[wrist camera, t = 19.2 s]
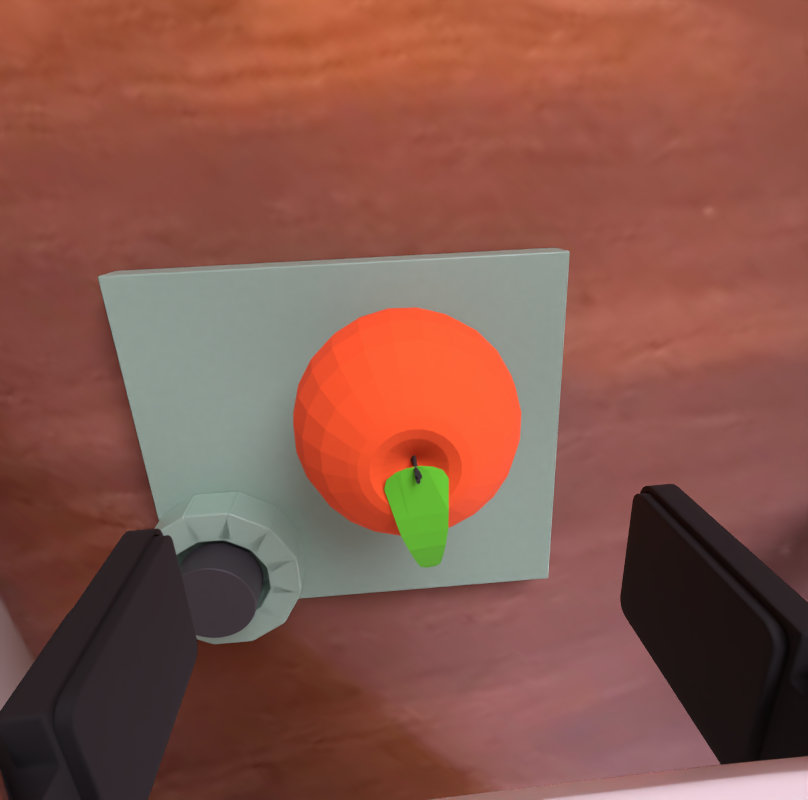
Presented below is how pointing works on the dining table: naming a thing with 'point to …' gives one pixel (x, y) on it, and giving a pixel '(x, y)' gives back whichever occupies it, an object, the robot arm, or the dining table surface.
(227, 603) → the tare button
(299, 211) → the dining table surface
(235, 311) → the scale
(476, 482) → the clementine
